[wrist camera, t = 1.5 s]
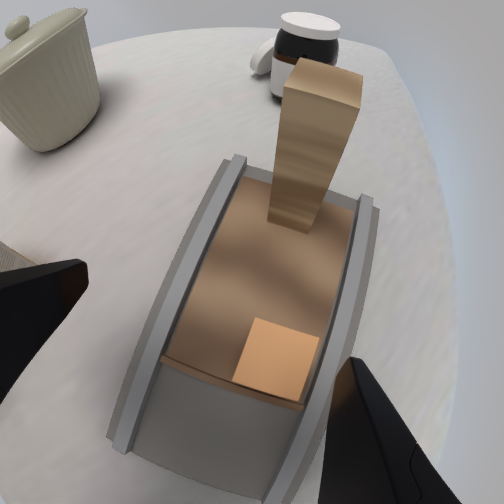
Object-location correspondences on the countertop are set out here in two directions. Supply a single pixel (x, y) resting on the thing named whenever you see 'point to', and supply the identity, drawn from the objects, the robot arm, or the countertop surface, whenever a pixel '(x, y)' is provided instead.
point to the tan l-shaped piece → (276, 238)
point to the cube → (276, 359)
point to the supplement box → (12, 259)
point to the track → (225, 401)
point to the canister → (48, 79)
